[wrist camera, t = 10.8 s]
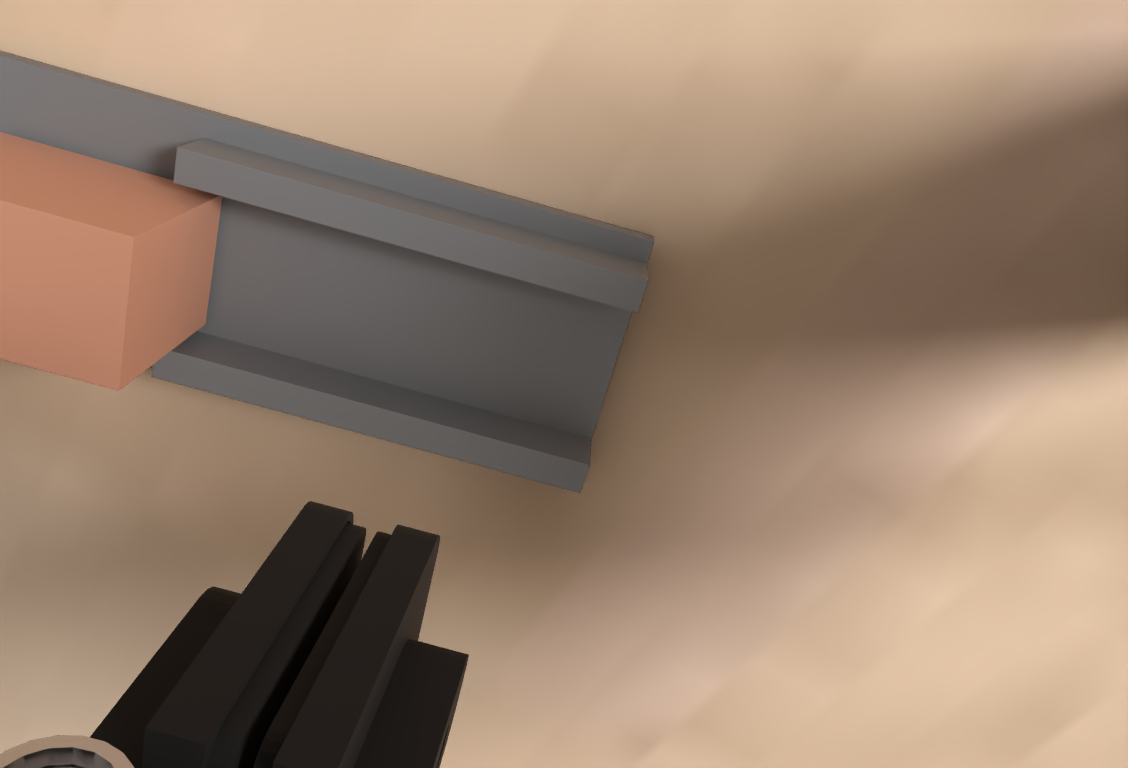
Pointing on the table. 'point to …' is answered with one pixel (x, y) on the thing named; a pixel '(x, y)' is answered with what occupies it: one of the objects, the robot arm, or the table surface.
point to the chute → (370, 281)
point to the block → (98, 263)
